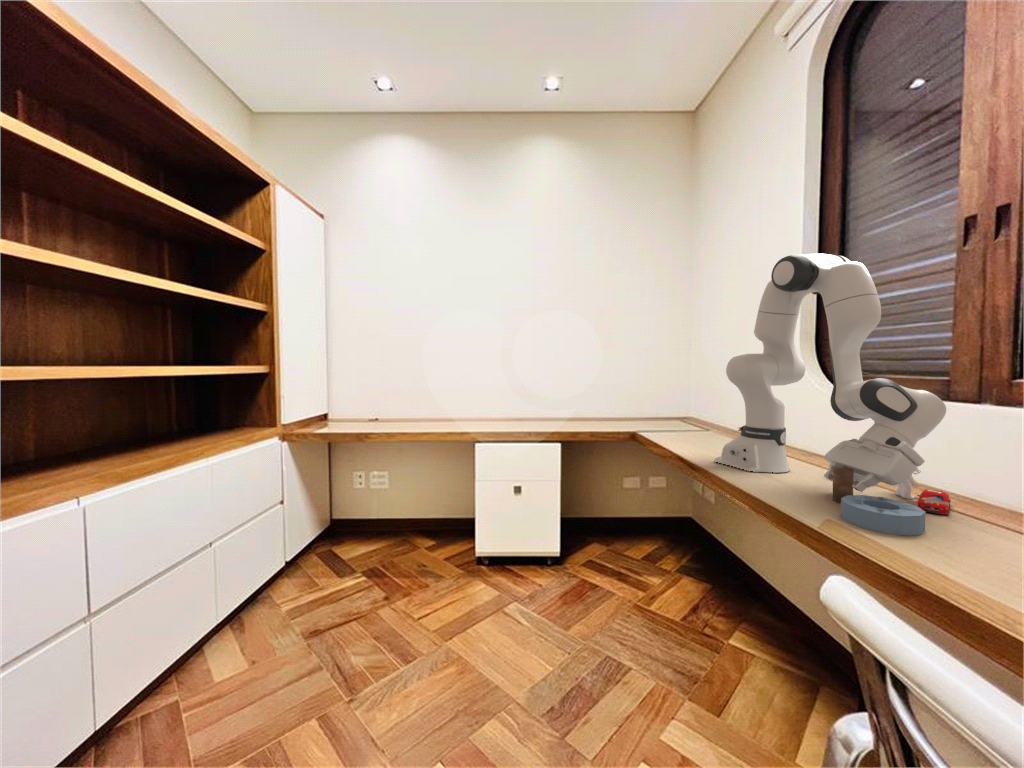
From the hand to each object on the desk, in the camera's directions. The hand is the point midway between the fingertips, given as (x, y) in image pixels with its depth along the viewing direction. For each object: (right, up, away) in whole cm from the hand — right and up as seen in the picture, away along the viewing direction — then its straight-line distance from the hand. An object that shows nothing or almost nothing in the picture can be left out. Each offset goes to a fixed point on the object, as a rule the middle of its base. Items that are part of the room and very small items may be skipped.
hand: (841, 483), depth 99 cm
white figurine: (+20, -4, +3) cm, 20 cm away
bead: (-2, -5, -13) cm, 14 cm away
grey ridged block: (+19, -4, +18) cm, 26 cm away
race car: (+18, -5, -5) cm, 20 cm away
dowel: (+1, -5, 0) cm, 5 cm away
